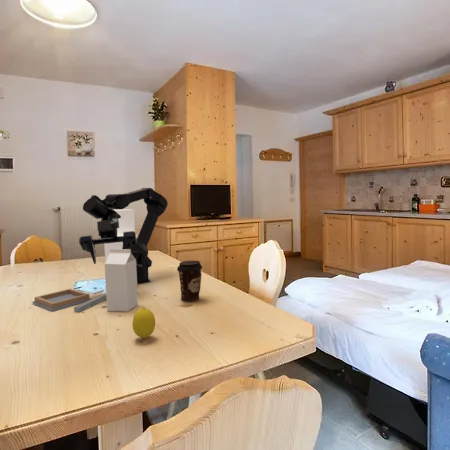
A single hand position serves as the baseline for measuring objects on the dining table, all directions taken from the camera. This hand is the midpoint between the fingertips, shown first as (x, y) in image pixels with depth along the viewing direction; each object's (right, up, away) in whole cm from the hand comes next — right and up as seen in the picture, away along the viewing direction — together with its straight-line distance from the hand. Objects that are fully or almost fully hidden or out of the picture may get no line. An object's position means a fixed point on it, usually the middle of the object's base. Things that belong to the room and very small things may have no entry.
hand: (108, 261), depth 115 cm
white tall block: (-17, -8, +70) cm, 73 cm away
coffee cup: (+28, -13, 0) cm, 31 cm away
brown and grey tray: (-16, -14, 0) cm, 21 cm away
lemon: (+20, -16, -31) cm, 40 cm away
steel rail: (-4, -14, -3) cm, 15 cm away
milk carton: (+7, -14, -7) cm, 17 cm away
